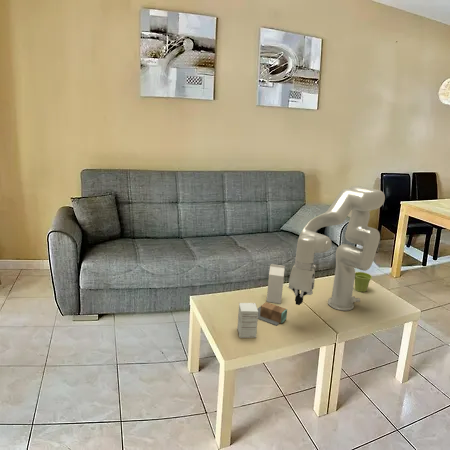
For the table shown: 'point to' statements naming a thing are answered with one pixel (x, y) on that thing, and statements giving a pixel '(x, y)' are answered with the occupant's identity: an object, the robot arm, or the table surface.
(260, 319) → the mat
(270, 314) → the walnut block
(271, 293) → the milk carton
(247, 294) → the table surface
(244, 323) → the supplement box
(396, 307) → the table surface
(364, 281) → the plant pot
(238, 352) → the table surface
